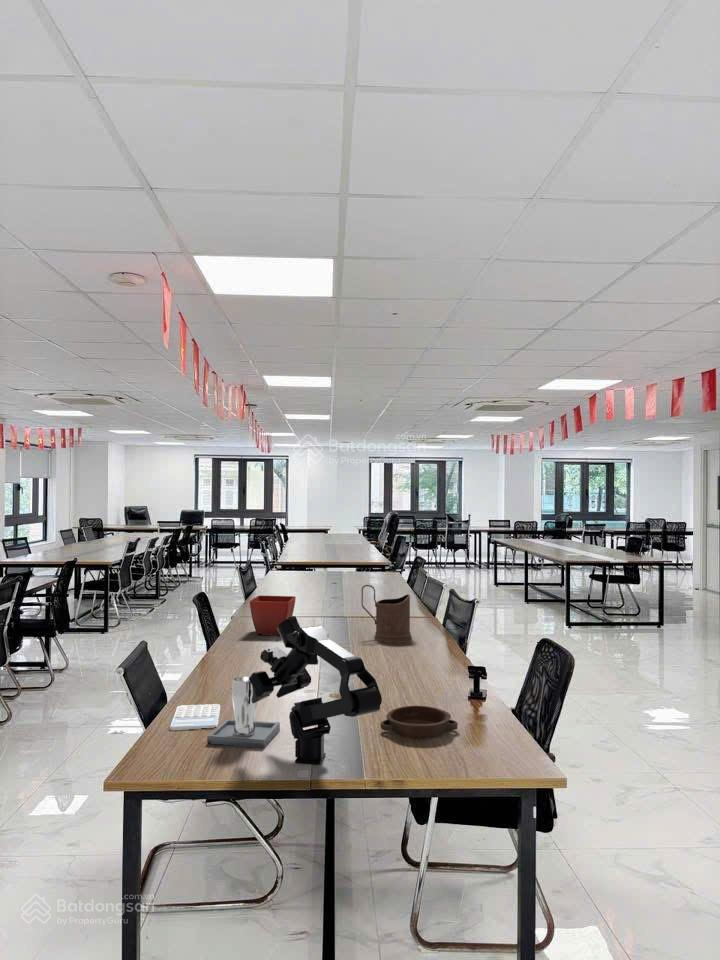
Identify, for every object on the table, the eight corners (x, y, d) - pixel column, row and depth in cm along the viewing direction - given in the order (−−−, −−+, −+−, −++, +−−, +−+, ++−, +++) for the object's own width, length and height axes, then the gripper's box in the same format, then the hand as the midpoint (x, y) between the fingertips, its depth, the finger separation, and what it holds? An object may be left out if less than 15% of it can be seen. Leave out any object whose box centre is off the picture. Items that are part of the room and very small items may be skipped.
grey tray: (279, 730, 197) (279, 722, 197) (264, 748, 183) (264, 739, 183) (226, 726, 199) (226, 719, 200) (207, 744, 186) (207, 735, 186)
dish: (377, 722, 204) (377, 705, 204) (450, 721, 206) (450, 704, 206) (383, 744, 187) (383, 725, 187) (464, 741, 189) (464, 723, 189)
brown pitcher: (414, 642, 314) (414, 587, 315) (361, 642, 314) (361, 587, 314) (410, 634, 333) (411, 582, 333) (361, 634, 332) (361, 582, 333)
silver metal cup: (233, 728, 194) (233, 675, 195) (258, 728, 195) (258, 675, 195) (230, 737, 187) (230, 682, 188) (256, 737, 188) (256, 681, 188)
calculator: (220, 708, 218) (220, 702, 218) (217, 730, 198) (217, 723, 198) (177, 710, 216) (177, 704, 216) (169, 732, 196) (169, 725, 196)
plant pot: (296, 629, 343) (296, 595, 343) (288, 637, 324) (288, 601, 324) (258, 628, 345) (258, 595, 345) (248, 636, 326) (248, 601, 326)
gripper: (304, 634, 192) (275, 670, 198) (254, 641, 178) (225, 679, 183) (325, 666, 187) (294, 702, 192) (275, 676, 172) (244, 715, 178)
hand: (265, 699), depth 187 cm, fingers open, 9 cm apart
